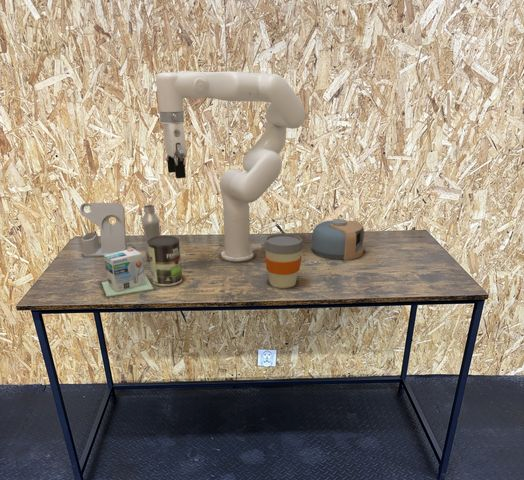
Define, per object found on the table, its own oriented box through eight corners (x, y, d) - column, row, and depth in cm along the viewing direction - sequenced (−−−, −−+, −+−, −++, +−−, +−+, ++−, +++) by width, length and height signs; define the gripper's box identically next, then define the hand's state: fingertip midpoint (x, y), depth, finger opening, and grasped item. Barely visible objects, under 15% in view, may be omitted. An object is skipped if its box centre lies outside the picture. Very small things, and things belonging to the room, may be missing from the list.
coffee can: (188, 278, 170) (185, 238, 163) (168, 288, 163) (164, 247, 156) (165, 272, 175) (161, 233, 168) (145, 282, 168) (140, 241, 160)
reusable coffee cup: (261, 289, 163) (261, 244, 155) (266, 274, 174) (266, 232, 166) (299, 291, 162) (301, 246, 154) (302, 276, 172) (304, 234, 165)
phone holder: (81, 256, 189) (72, 209, 180) (89, 247, 197) (80, 202, 188) (127, 256, 189) (120, 209, 180) (132, 247, 198) (126, 201, 189)
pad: (146, 276, 172) (146, 275, 171) (153, 289, 162) (153, 288, 162) (101, 283, 167) (101, 282, 166) (106, 297, 157) (106, 295, 157)
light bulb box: (116, 292, 159) (111, 260, 154) (107, 286, 164) (102, 254, 158) (146, 284, 165) (142, 253, 159) (137, 278, 169) (133, 247, 164)
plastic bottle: (147, 264, 182) (140, 209, 172) (145, 257, 188) (139, 204, 178) (164, 262, 184) (159, 208, 173) (162, 256, 189) (157, 203, 179)
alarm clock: (354, 263, 183) (357, 231, 177) (304, 254, 191) (305, 224, 185) (368, 247, 198) (371, 217, 192) (321, 240, 206) (323, 211, 200)
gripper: (191, 120, 148) (195, 179, 157) (176, 114, 162) (181, 169, 171) (166, 121, 146) (172, 181, 154) (153, 115, 159) (159, 171, 168)
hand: (176, 175), depth 162 cm, fingers open, 9 cm apart
